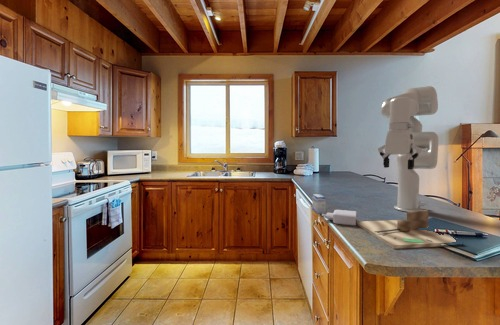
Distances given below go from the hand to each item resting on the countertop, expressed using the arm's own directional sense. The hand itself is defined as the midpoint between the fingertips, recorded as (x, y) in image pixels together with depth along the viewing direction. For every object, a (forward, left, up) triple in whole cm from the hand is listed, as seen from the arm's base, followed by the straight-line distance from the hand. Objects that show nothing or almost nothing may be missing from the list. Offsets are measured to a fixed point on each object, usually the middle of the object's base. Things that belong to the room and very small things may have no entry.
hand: (397, 168), depth 108 cm
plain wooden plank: (+3, +9, -24) cm, 25 cm away
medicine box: (+25, -26, -25) cm, 44 cm away
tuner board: (+3, +9, -25) cm, 27 cm away
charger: (+21, -10, -26) cm, 35 cm away
